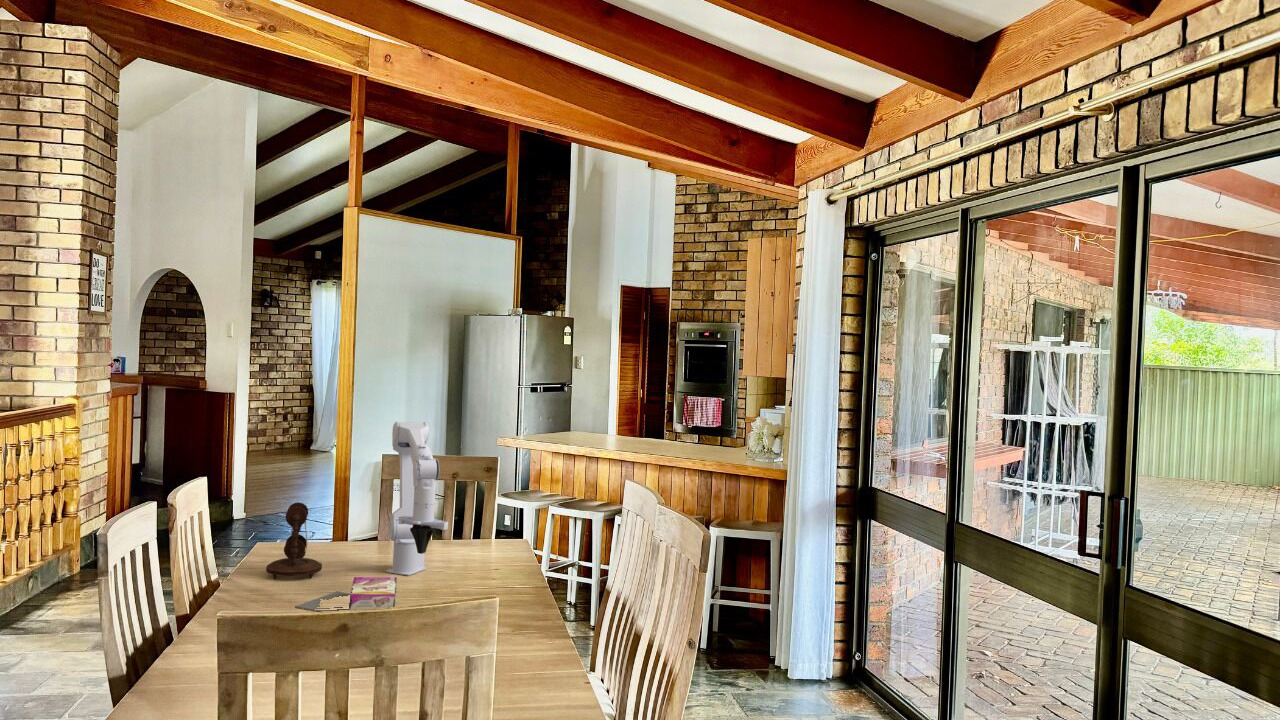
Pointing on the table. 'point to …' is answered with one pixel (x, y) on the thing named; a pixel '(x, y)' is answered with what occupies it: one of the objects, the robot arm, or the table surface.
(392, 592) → the candy bar box
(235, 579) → the table surface
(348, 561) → the table surface
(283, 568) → the wooden ornament
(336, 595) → the mat
